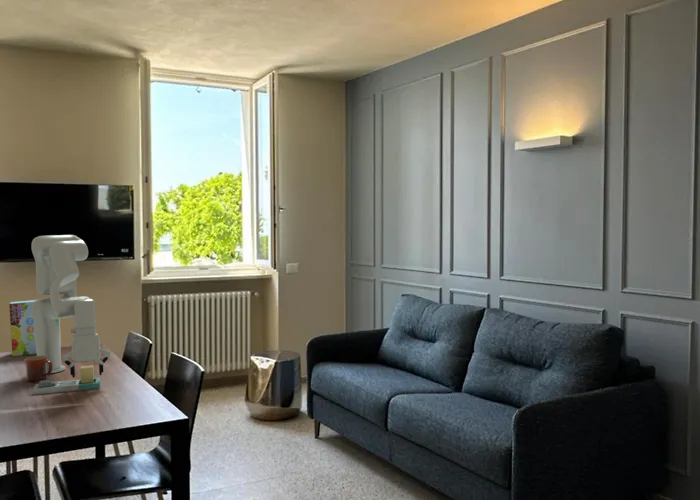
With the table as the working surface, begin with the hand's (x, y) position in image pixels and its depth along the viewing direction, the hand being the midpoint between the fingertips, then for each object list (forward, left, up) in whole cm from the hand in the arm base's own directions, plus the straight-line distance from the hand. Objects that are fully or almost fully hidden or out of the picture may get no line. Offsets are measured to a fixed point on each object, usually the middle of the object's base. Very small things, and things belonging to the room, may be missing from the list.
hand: (87, 375), depth 252 cm
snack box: (-65, +59, -6) cm, 88 cm away
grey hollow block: (-13, -7, -4) cm, 15 cm away
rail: (-6, -3, -5) cm, 9 cm away
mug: (-25, +6, -6) cm, 26 cm away
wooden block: (0, 0, -4) cm, 4 cm away
